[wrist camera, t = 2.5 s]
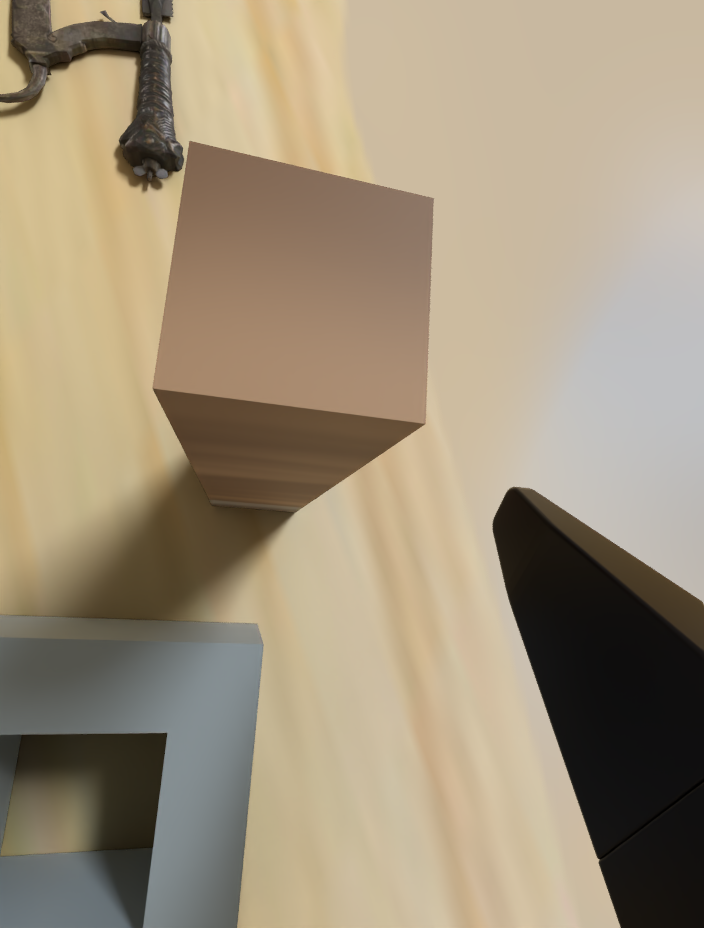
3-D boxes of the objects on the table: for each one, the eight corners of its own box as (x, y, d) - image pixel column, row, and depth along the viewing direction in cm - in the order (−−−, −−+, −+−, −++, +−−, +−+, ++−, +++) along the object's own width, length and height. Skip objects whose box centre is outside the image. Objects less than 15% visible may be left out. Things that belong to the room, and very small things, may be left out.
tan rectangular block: (295, 512, 18) (425, 423, 6) (211, 505, 18) (152, 388, 5) (302, 434, 19) (433, 198, 6) (221, 424, 18) (189, 140, 6)
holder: (228, 921, 15) (226, 1043, 12) (-107, 952, 13) (-242, 1110, 10) (257, 623, 17) (263, 644, 13) (-36, 613, 15) (-126, 634, 11)
